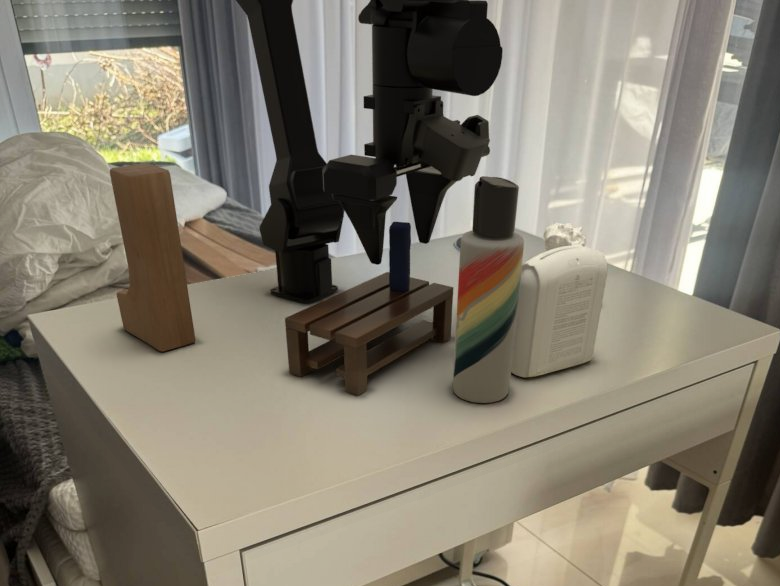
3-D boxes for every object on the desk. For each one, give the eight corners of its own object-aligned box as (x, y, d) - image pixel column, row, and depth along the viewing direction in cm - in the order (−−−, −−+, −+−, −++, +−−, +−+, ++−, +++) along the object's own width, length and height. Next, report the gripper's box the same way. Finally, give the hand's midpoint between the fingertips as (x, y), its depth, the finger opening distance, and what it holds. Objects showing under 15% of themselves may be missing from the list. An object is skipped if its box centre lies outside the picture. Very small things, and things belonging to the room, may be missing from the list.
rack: (288, 373, 81) (284, 317, 77) (386, 321, 93) (387, 271, 89) (357, 396, 77) (356, 338, 73) (450, 338, 89) (453, 287, 85)
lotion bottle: (449, 379, 80) (459, 170, 68) (503, 378, 81) (523, 170, 69) (456, 405, 76) (469, 185, 64) (513, 403, 76) (537, 185, 64)
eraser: (411, 286, 85) (412, 221, 81) (407, 292, 84) (408, 227, 79) (392, 284, 86) (392, 220, 82) (387, 291, 84) (387, 225, 80)
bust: (586, 315, 101) (554, 234, 100) (632, 292, 95) (598, 205, 94) (527, 338, 95) (492, 251, 94) (572, 315, 89) (534, 222, 87)
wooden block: (122, 329, 90) (86, 160, 79) (157, 320, 92) (127, 154, 81) (161, 353, 84) (128, 175, 74) (197, 343, 87) (171, 169, 76)
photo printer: (570, 348, 87) (588, 235, 80) (598, 362, 84) (618, 245, 77) (500, 368, 83) (511, 250, 75) (526, 383, 80) (540, 262, 72)
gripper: (420, 102, 63) (416, 292, 72) (523, 81, 76) (508, 245, 85) (314, 91, 68) (323, 270, 77) (427, 73, 80) (423, 229, 90)
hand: (400, 253), depth 82 cm, fingers open, 9 cm apart
